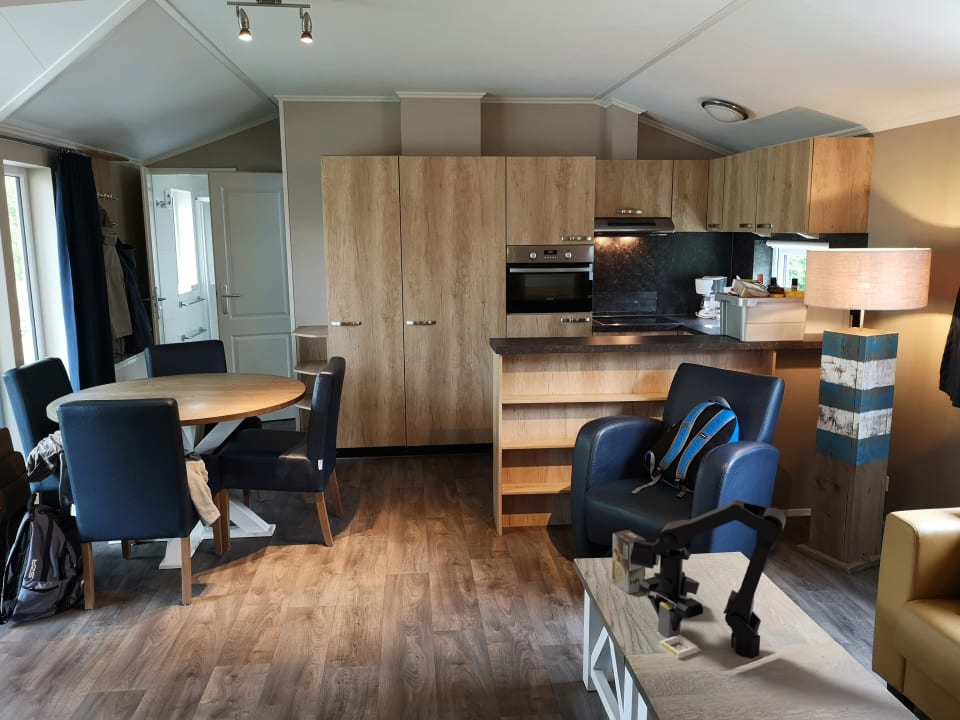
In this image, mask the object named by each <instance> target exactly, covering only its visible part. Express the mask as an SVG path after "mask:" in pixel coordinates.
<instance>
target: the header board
mask: <svg viewBox="0 0 960 720" xmlns="http://www.w3.org/2000/svg"><path fill="white" fill-rule="evenodd" d="M656 634H657V635H661V634H660V633H659V632H658V631H657V632H656ZM677 643H680V644H682V645H683V646H685V647H687V648H685V647H683V648H681V645H680V644H677ZM674 644H677V645H676V646H677V648H681V649H676V647H675V646H671V645H674ZM659 648H661V649H662V650H664V651H665V652H667V653H669V654H670V655H671V656H673V657H674V658H675V659H682V658H685V657H687V656H690V655H693V654H696V653H699V652H702V649H701V648H699V646H698V645H697V644H696V643H694V642H692V641H691V640H689V639H688V638H686V637H684V636H683V635H681V634H680V635H677V636H673V637H670V638H664V639H662V640H659Z"/></svg>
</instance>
